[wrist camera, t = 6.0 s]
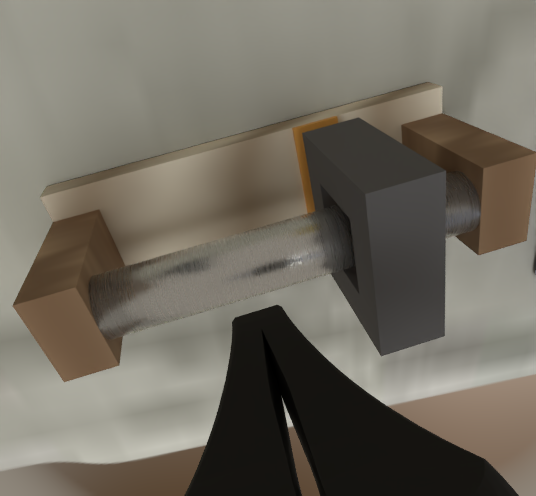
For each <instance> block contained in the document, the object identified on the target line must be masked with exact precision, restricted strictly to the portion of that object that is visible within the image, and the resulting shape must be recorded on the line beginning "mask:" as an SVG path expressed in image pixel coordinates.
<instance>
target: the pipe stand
mask: <svg viewBox="0 0 536 496" xmlns="http://www.w3.org/2000/svg"><path fill="white" fill-rule="evenodd" d="M358 117H359V118H361V119H362V120H364V121H366V122H367V123H369V124H370V125H372V126H374V127H375V128H377V129H379V130H380V131H382V132H384V133H385V134H387V135H388V136H390V137H392V138H393V139H395V140H397V141H398V142H400V143H402V144H403V145H405V146H406V147H408V148H410V149H411V150H413V151H415V152H416V153H418V154H420V155H421V156H423V157H425V158H426V159H428V160H429V161H431V162H433V163H434V164H436V165H438V166H439V167H441V168H443V169H444V170H446V238H445V239H447V238H450V237H454V236H455V237H457V238H458V239H459V240H460V241H462V242H463V243H464V244H465V245H466V246H468V247H469V248H470V249H471V250H473V251H474V252H475V253H476V254H478V255H481V254H484V253H488V252H491V251H494V250H497V249H501V248H504V247H507V246H511V245H514V244H517V243H520V242H524V241H526V240H527V232H528V224H529V216H530V208H531V201H532V193H533V185H534V177H535V169H536V152H535V151H532V150H530V149H527V148H525V147H523V146H520V145H518V144H515V143H513V142H510V141H508V140H506V139H503V138H501V137H498V136H496V135H494V134H491V133H489V132H486V131H484V130H481V129H479V128H477V127H474V126H472V125H469V124H467V123H465V122H462V121H460V120H457V119H455V118H452V117H450V116H448V115H445V114H443V113H442V86H439V85H436V84H433V83H430V82H427V83H423V84H420V85H416V86H412V87H409V88H405V89H401V90H398V91H394V92H390V93H387V94H383V95H379V96H376V97H372V98H368V99H365V100H361V101H357V102H354V103H350V104H347V105H343V106H339V107H336V108H332V109H328V110H325V111H321V112H317V113H314V114H310V115H306V116H303V117H299V118H295V119H292V120H288V121H284V122H281V123H277V124H273V125H270V126H266V127H263V128H259V129H255V130H252V131H248V132H244V133H241V134H237V135H233V136H230V137H226V138H222V139H219V140H215V141H211V142H208V143H204V144H200V145H197V146H193V147H189V148H186V149H182V150H179V151H175V152H171V153H168V154H164V155H160V156H157V157H153V158H149V159H146V160H142V161H138V162H135V163H131V164H127V165H124V166H120V167H116V168H113V169H109V170H105V171H102V172H98V173H95V174H91V175H87V176H84V177H80V178H76V179H73V180H69V181H65V182H62V183H58V184H54V185H51V186H47V187H46V188H45V190H44V191H43V193H42V195H41V196H40V198H41V200H42V202H43V204H44V206H45V208H46V209H47V211H48V213H49V215H50V217H51V219H52V221H53V224H52V226H51V228H50V230H49V232H48V234H47V236H46V238H45V240H44V242H43V244H42V246H41V248H40V250H39V252H38V254H37V257H36V259H35V261H34V263H33V265H32V267H31V269H30V271H29V273H28V275H27V277H26V279H25V281H24V283H23V285H22V287H21V289H20V291H19V293H18V296H17V298H16V300H15V302H14V304H13V307H14V309H15V310H16V312H17V313H18V314H19V316H20V317H21V319H22V320H23V322H24V323H25V325H26V326H27V328H28V329H29V331H30V332H31V334H32V335H33V337H34V338H35V340H36V341H37V343H38V344H39V346H40V347H41V348H42V350H43V351H44V353H45V354H46V356H47V357H48V359H49V360H50V362H51V363H52V365H53V366H54V368H55V369H56V371H57V372H58V374H59V375H60V377H61V378H62V380H63V381H64V382H66V381H69V380H73V379H76V378H79V377H83V376H86V375H89V374H92V373H96V372H99V371H102V370H105V369H109V368H112V367H115V366H118V365H119V363H120V355H121V346H122V338H123V336H125V335H129V334H132V333H135V332H138V331H142V330H145V329H148V328H152V327H155V326H158V325H162V324H165V323H168V322H172V321H175V320H178V319H182V318H185V317H188V316H192V315H195V314H198V313H201V312H205V311H208V310H211V309H215V308H218V307H221V306H225V305H228V304H231V303H235V302H238V301H241V300H245V299H248V298H251V297H255V296H258V295H261V294H264V293H268V292H271V291H274V290H278V289H281V288H284V287H288V286H291V285H294V284H298V283H301V282H304V281H308V280H311V279H314V278H318V277H321V276H324V275H327V274H331V273H334V272H337V271H341V270H344V269H347V268H351V267H354V266H356V263H355V254H354V246H353V238H352V230H351V222H350V218H349V217H348V216H347V215H346V214H345V213H344V211H343V210H342V209H341V208H340V207H339V205H335V206H331V207H328V208H324V209H321V210H318V211H315V206H314V200H313V194H312V188H311V182H310V177H309V171H308V165H307V159H306V153H305V147H304V141H303V135H302V133H304V132H307V131H311V130H315V129H318V128H322V127H325V126H329V125H333V124H336V123H340V122H343V121H347V120H351V119H354V118H358Z"/></svg>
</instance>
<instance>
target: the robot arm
mask: <svg viewBox="0 0 536 496" xmlns="http://www.w3.org/2000/svg"><path fill="white" fill-rule="evenodd" d="M535 273H536V272H535ZM282 398H283V401H284V403H285V406H286V408H287V411H288V413H289V415H290V418H291V420H292V423H293V425H294V428H295V430H296V433H297V435H298V438H299V440H300V442H301V445H302V447H303V450H304V452H305V455H306V457H307V459H308V462H309V464H310V467H311V470H312V472H313V475H314V478H315V481H316V483H317V487H318V490H319V493H320V496H519V495H518V494H517V493H516V492H515V491H514V489H513V488H512V487H511V486H510V485H509V484H508V483H507V481H506V480H505V479H504V478H503V477H502V476H501V475H500V474H499V473H498V472H497V471H496V470H495V469H494V468H493V467H492V466H491V464H489V463H488V462H487V461H486V460H485V459H484V458H481V457H479V456H477V455H475V454H473V453H471V452H469V451H466V450H464V449H462V448H460V447H458V446H456V445H454V444H452V443H450V442H448V441H446V440H444V439H442V438H440V437H439V436H437V435H435V434H433V433H431V432H429V431H427V430H426V429H424V428H422V427H420V426H418V425H417V424H415V423H414V422H412V421H410V420H409V419H407V418H405V417H404V416H402V415H401V414H399V413H397V412H396V411H394V410H392V409H391V408H389V407H388V406H386V405H385V404H383V403H382V402H380V401H379V400H377V399H376V398H374V397H373V396H372V395H370V394H369V393H367V392H366V391H365V390H363V389H362V388H361V387H359V386H358V385H357V384H355V383H354V382H353V381H352V380H350V379H349V378H348V377H347V376H346V375H344V374H343V373H342V372H341V371H340V370H338V369H337V368H336V367H335V366H334V365H333V364H332V363H331V362H329V361H328V360H327V359H326V358H325V357H324V356H323V355H322V354H321V353H320V352H319V351H318V350H317V349H316V348H315V347H314V346H313V345H312V344H311V343H310V342H309V341H308V340H307V339H306V338H305V337H304V335H303V334H302V333H301V332H300V331H299V330H298V329H297V327H296V326H295V325H294V324H293V322H292V321H291V320H290V319H289V317H288V316H287V314H286V313H285V311H284V310H283V308H282V307H281V306H279V305H275V306H272V307H268V308H265V309H262V310H259V311H255V312H252V313H249V314H246V315H242V316H239V317H236V318H235V319H234V320H233V322H232V345H231V353H230V359H229V365H228V370H227V376H226V381H225V385H224V389H223V393H222V397H221V401H220V405H219V408H218V412H217V415H216V418H215V422H214V425H213V428H212V431H211V434H210V436H209V439H208V442H207V445H206V447H205V450H204V452H203V455H202V457H201V460H200V462H199V465H198V468H197V470H196V472H195V475H194V477H193V479H192V481H191V483H190V485H189V488H188V490H187V492H186V494H185V496H302V494H301V490H300V486H299V482H298V477H297V473H296V468H295V463H294V458H293V453H292V448H291V443H290V438H289V432H288V427H287V422H286V417H285V412H284V406H283V401H282Z"/></svg>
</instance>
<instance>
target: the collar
mask: <svg viewBox="0 0 536 496" xmlns="http://www.w3.org/2000/svg"><path fill="white" fill-rule="evenodd" d="M302 135H303V141H304V147H305V153H306V159H307V165H308V171H309V177H310V182H311V188H312V194H313V200H314V206H315V211H318V210H321V209H324V208H328V207H331V206H335V205H339V207H340V208H341V209H342V210H343V211H344V213H345V214H346V215H347V216H348V217H349V218H350V222H351V230H352V238H353V246H354V254H355V263H356V266H354V267H351V268H347V269H344V270H341V271H337V272H334V273H331V275H332V276H333V278H334V280H335V281H336V283H337V284H338V286H339V288H340V289H341V291H342V293H343V294H344V296H345V298H346V299H347V301H348V302H349V304H350V306H351V307H352V309H353V311H354V312H355V314H356V316H357V317H358V319H359V321H360V322H361V324H362V325H363V327H364V329H365V330H366V332H367V334H368V335H369V337H370V339H371V340H372V342H373V344H374V345H375V347H376V348H377V350H378V352H379V353H380V355H381V356H383V355H386V354H390V353H393V352H396V351H399V350H402V349H405V348H408V347H412V346H415V345H418V344H421V343H424V342H427V341H430V340H434V339H437V338H440V337H443V336H445V238H446V170H444V169H443V168H441V167H439V166H438V165H436V164H434V163H433V162H431V161H429V160H428V159H426V158H425V157H423V156H421V155H420V154H418V153H416V152H415V151H413V150H411V149H410V148H408V147H406V146H405V145H403V144H402V143H400V142H398V141H397V140H395V139H393V138H392V137H390V136H388V135H387V134H385V133H384V132H382V131H380V130H379V129H377V128H375V127H374V126H372V125H370V124H369V123H367V122H366V121H364V120H362V119H361V118H359V117H358V118H354V119H351V120H347V121H343V122H340V123H336V124H333V125H329V126H325V127H322V128H318V129H315V130H311V131H307V132H304V133H302Z"/></svg>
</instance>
